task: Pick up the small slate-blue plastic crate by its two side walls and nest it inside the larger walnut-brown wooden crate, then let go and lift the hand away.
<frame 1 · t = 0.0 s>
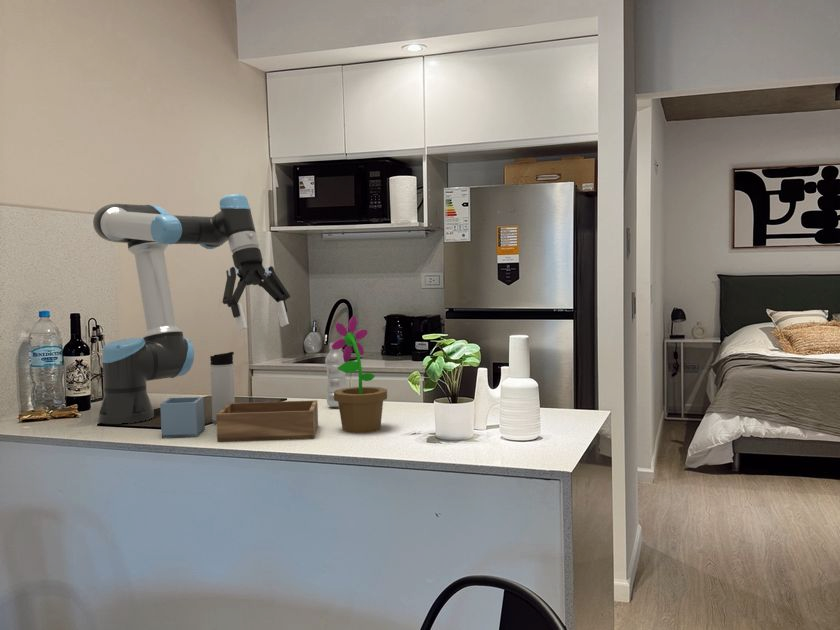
hand: (264, 327, 202), 28 cm above the countertop, tool tilted 20°, fingers open, 13 cm apart
travel mug: (224, 423, 218), on the countertop
plastic bottle: (337, 408, 238), on the countertop
flowerpot: (361, 429, 206), on the countertop
slate crate: (183, 433, 204), on the countertop
walnut crate: (269, 433, 202), on the countertop
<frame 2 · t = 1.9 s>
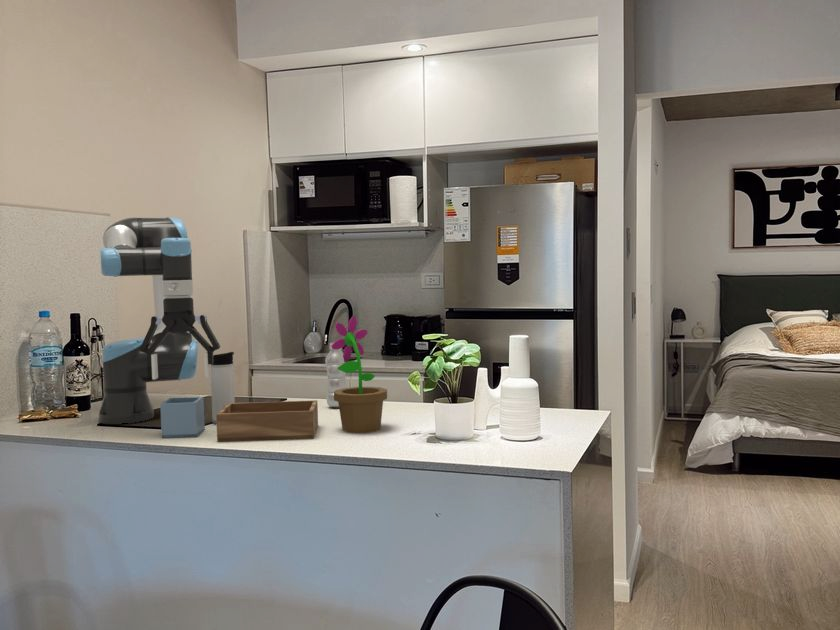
hand: (181, 378, 203), 15 cm above the countertop, tool pointing down, fingers open, 13 cm apart
nothing on the countertop moved.
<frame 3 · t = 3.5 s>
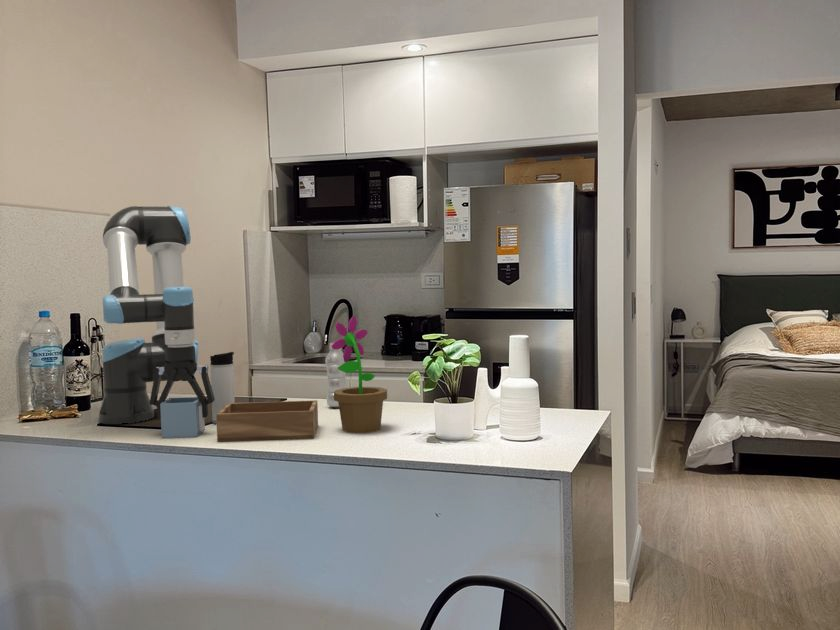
hand: (183, 430, 204), 1 cm above the countertop, tool pointing down, fingers closed on slate crate, 9 cm apart
slate crate: (183, 433, 204), on the countertop, touching gripper
everything else where it was.
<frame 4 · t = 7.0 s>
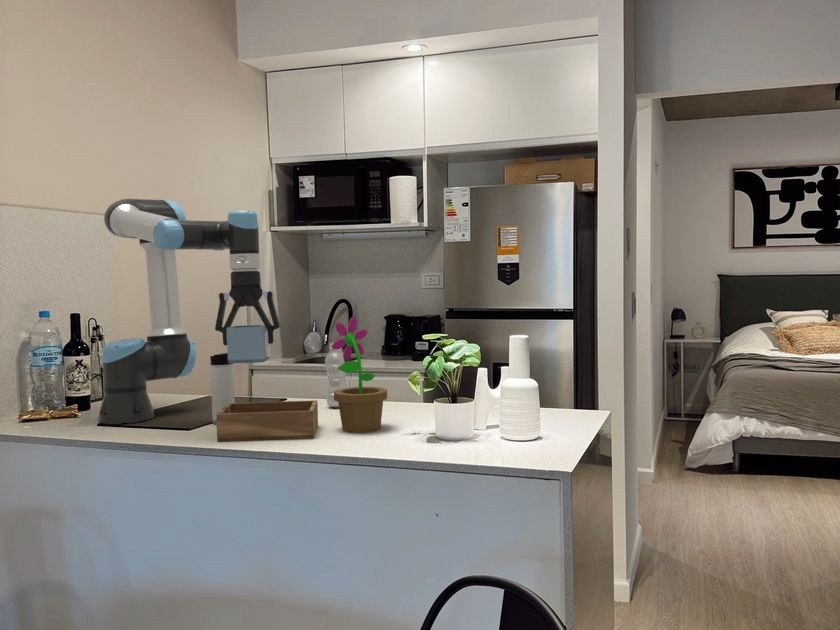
hand: (249, 357, 201), 20 cm above the countertop, tool pointing down, fingers closed on slate crate, 9 cm apart
slate crate: (249, 360, 201), point 19 cm above the countertop, touching gripper
everything else where it was.
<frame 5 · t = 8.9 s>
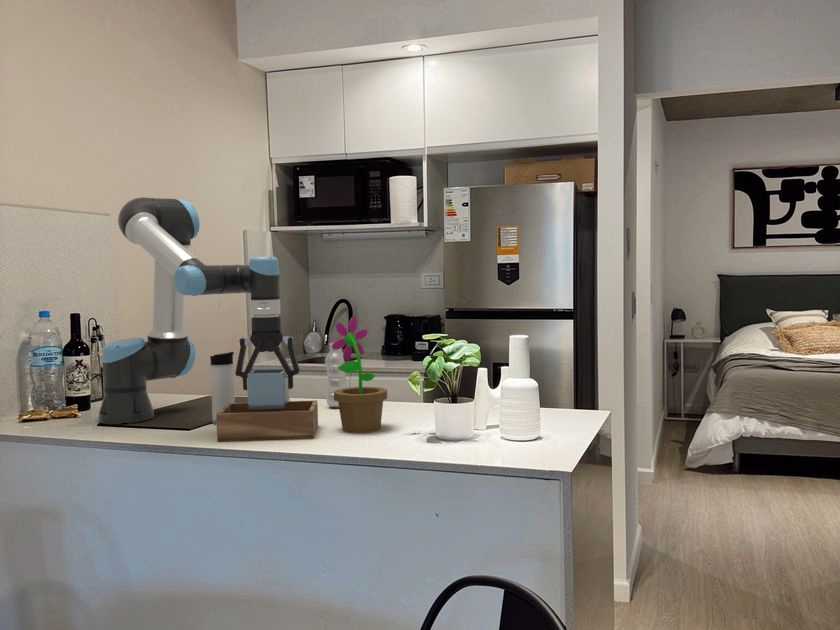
hand: (268, 401, 202), 8 cm above the countertop, tool pointing down, fingers closed on slate crate, 9 cm apart
slate crate: (268, 405, 202), point 7 cm above the countertop, touching gripper
everything else where it was.
when the fingers open (3 cm above the countertop, at t = 10.4 s): slate crate drops 1 cm, resting on walnut crate.
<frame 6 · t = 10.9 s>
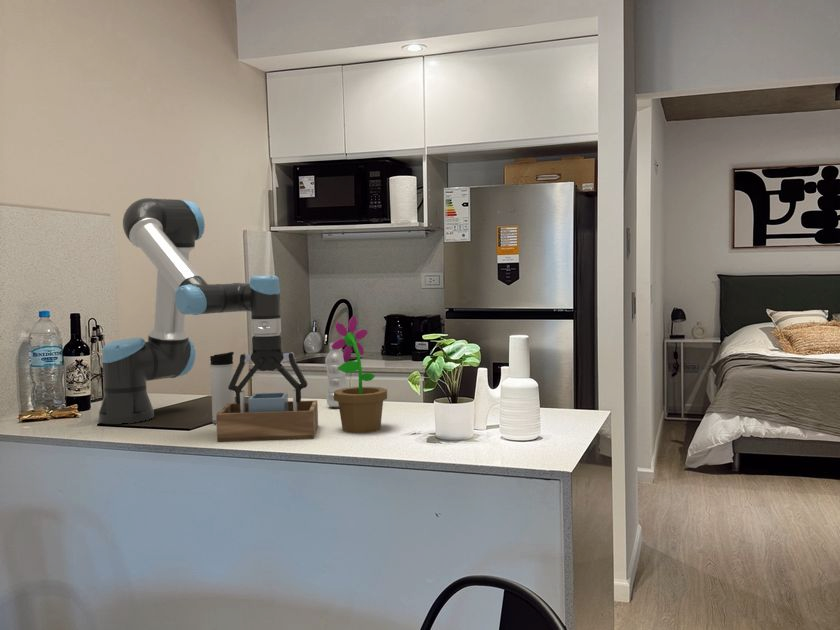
hand: (269, 415, 202), 5 cm above the countertop, tool pointing down, fingers open, 13 cm apart
slate crate: (269, 429, 202), point 1 cm above the countertop, touching walnut crate
everything else where it was.
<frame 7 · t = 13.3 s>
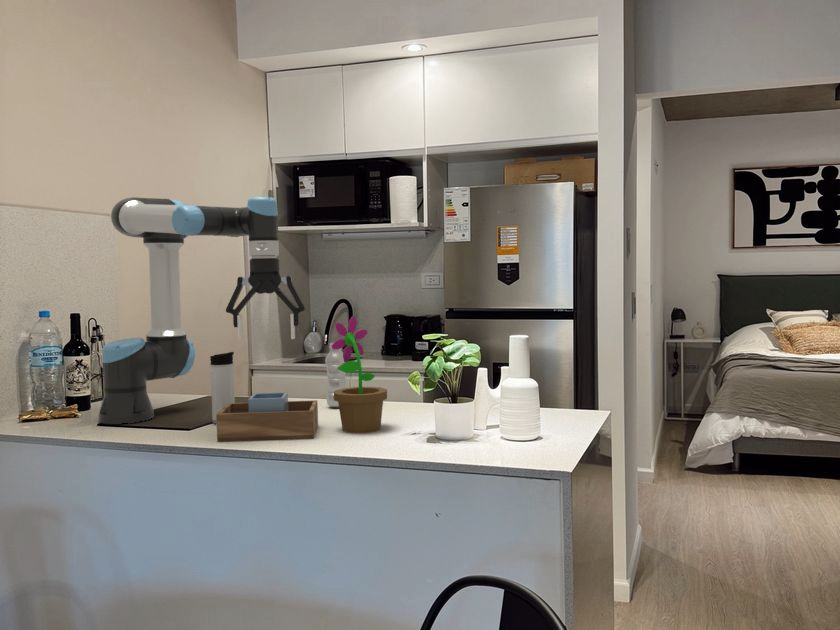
hand: (266, 339, 201), 25 cm above the countertop, tool pointing down, fingers open, 13 cm apart
nothing on the countertop moved.
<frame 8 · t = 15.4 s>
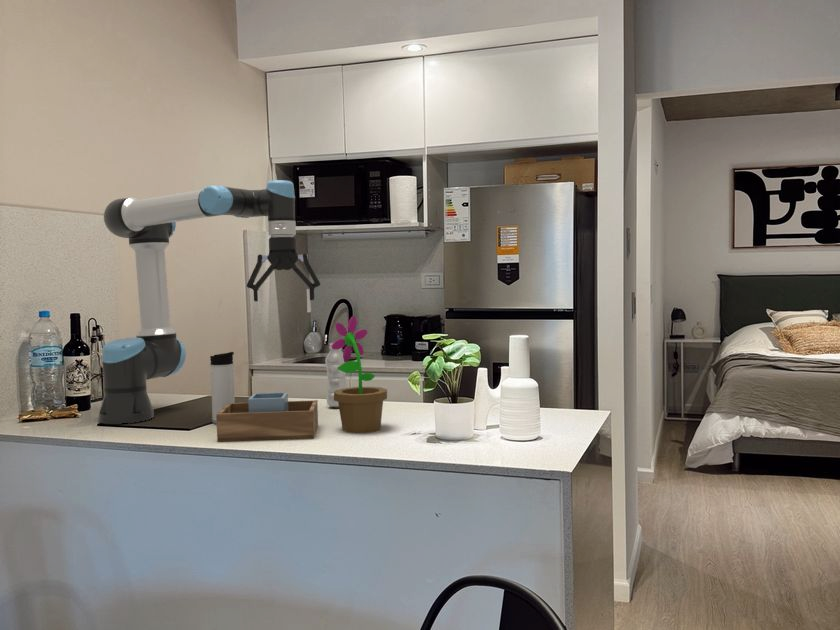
hand: (284, 312, 216), 31 cm above the countertop, tool pointing down, fingers open, 13 cm apart
nothing on the countertop moved.
at the end: slate crate 0.1 cm off-centre on the walnut crate, point 1.0 cm above the walnut crate's base; slate crate tilted 0°; the gripper is holding nothing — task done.
